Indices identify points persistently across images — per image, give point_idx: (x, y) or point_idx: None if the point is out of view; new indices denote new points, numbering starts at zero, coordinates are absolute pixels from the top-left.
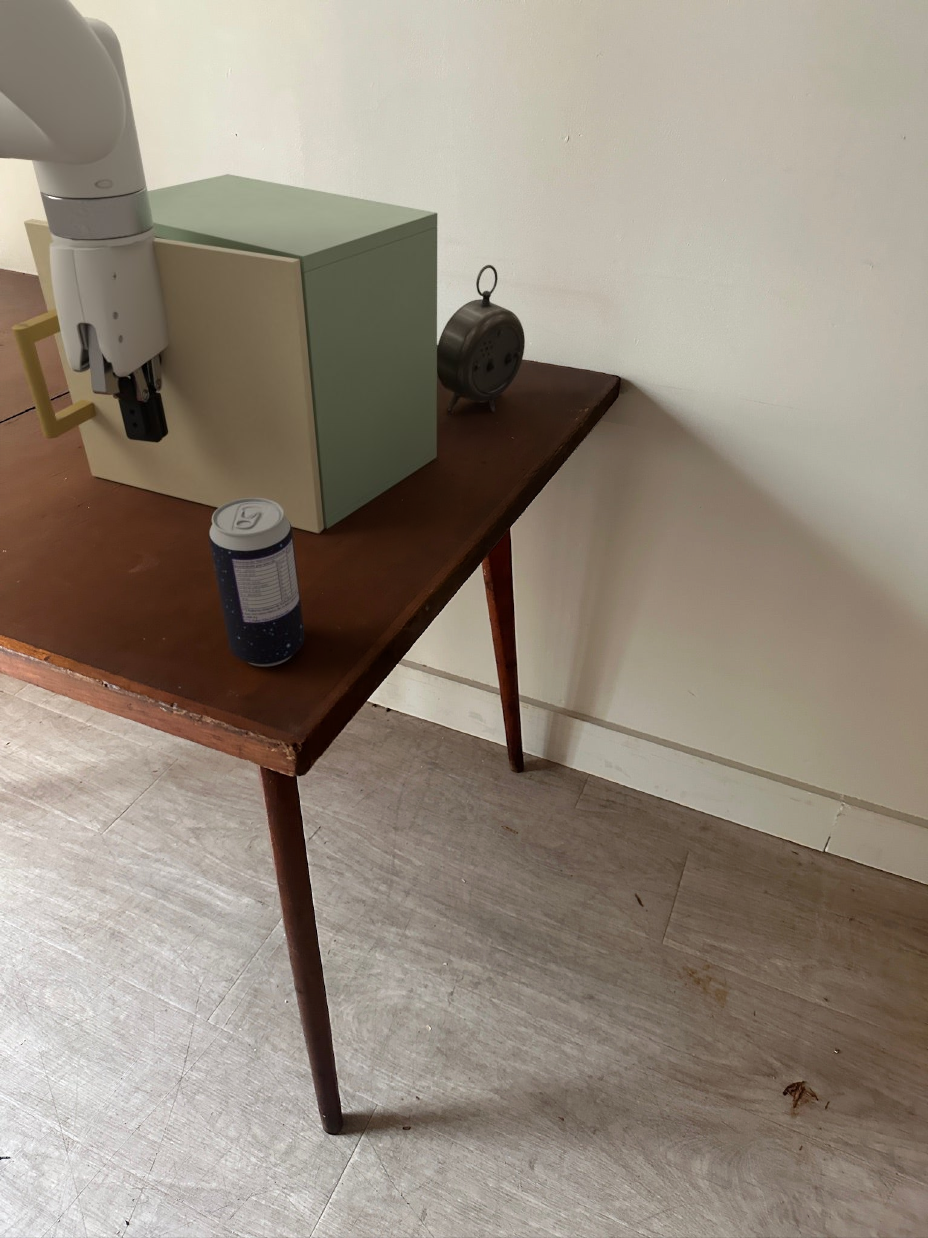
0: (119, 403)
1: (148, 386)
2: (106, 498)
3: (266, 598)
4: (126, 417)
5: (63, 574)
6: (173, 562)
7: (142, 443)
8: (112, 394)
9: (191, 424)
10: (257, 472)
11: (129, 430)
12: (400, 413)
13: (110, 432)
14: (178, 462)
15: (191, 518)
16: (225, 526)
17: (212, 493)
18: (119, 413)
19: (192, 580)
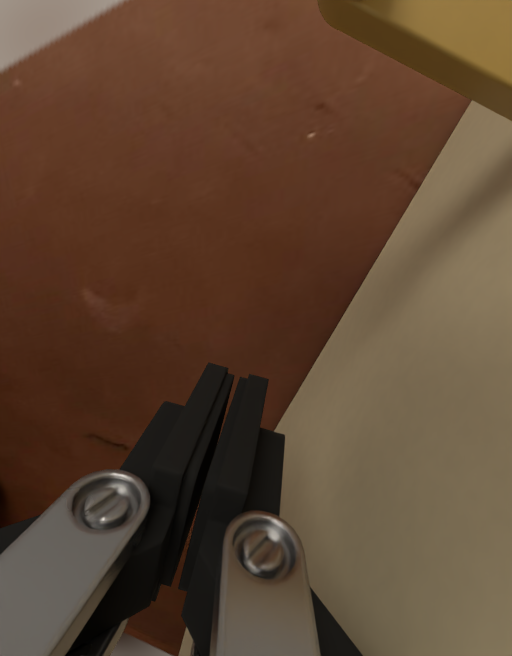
0: (166, 441)
1: (188, 622)
2: (353, 166)
3: None
4: (144, 435)
5: (55, 170)
6: (120, 353)
7: (395, 308)
8: None
9: (300, 523)
10: None
11: (163, 404)
12: None
13: (474, 194)
14: (329, 387)
15: (260, 361)
16: None
17: (292, 415)
18: (469, 269)
19: (78, 387)
